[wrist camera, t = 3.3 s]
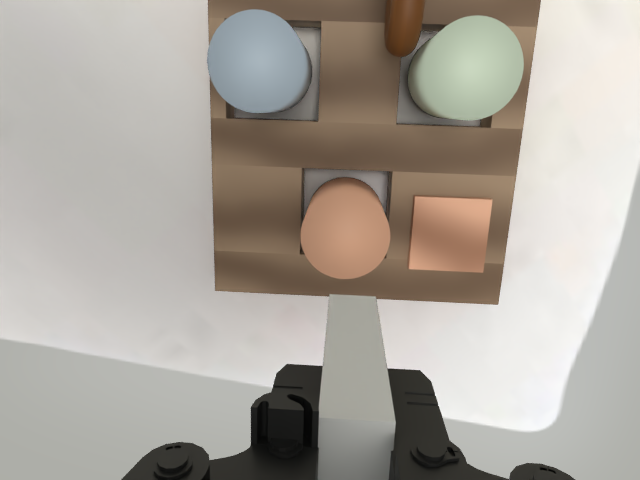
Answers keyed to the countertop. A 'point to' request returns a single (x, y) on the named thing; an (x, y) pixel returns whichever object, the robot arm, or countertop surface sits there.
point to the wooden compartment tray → (369, 164)
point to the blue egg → (258, 62)
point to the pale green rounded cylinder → (467, 69)
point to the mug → (403, 25)
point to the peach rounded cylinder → (345, 229)
